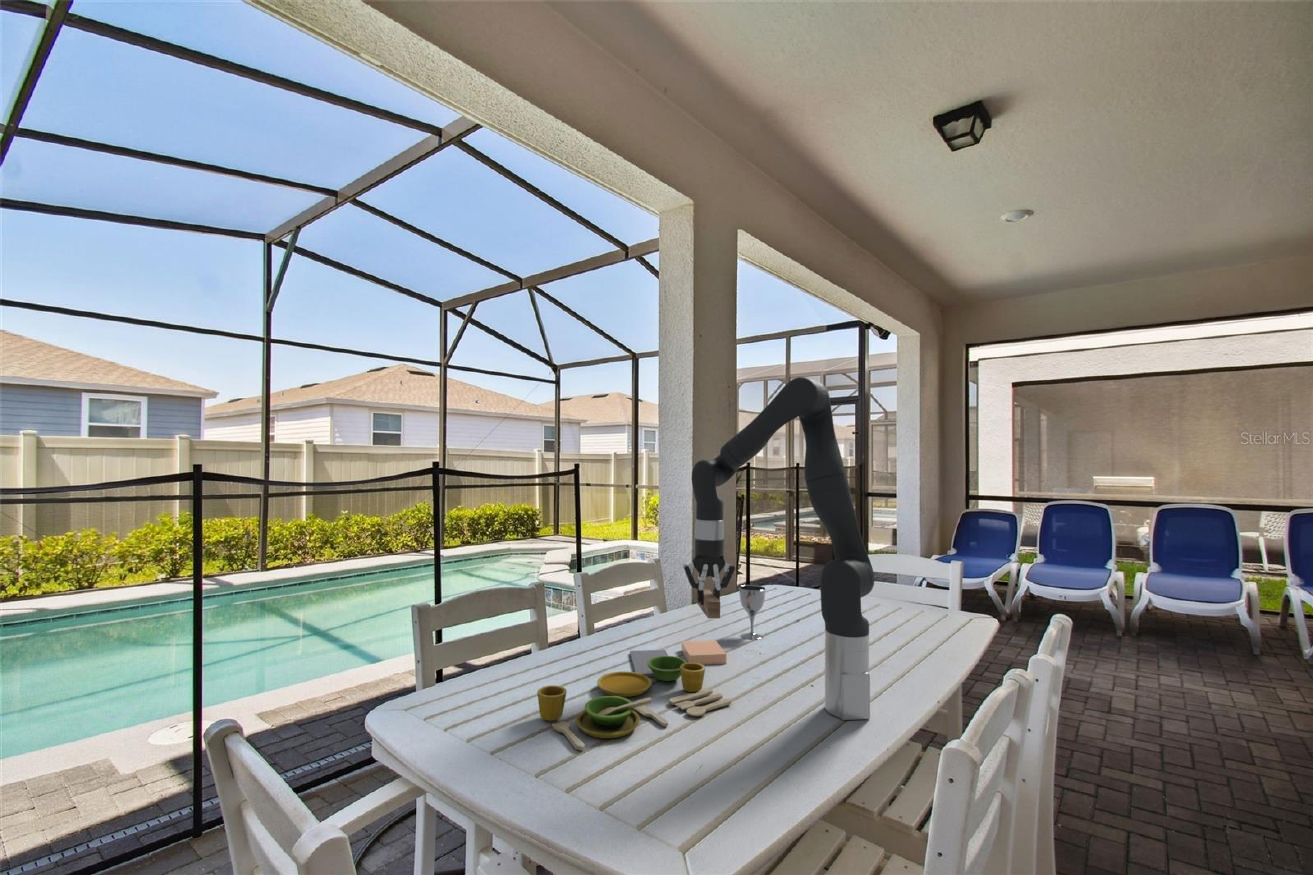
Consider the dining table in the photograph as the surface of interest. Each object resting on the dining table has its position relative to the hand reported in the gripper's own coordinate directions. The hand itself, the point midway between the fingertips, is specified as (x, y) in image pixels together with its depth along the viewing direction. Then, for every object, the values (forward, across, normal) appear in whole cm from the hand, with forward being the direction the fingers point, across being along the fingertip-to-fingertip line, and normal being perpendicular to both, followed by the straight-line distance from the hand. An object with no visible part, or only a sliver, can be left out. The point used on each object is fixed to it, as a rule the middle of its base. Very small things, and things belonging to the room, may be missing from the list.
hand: (708, 603), depth 152 cm
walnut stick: (+2, 0, 0) cm, 2 cm away
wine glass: (+18, +20, +29) cm, 40 cm away
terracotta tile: (+16, +1, +6) cm, 17 cm away
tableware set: (+17, -22, -18) cm, 33 cm away
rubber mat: (+18, -14, +7) cm, 23 cm away
